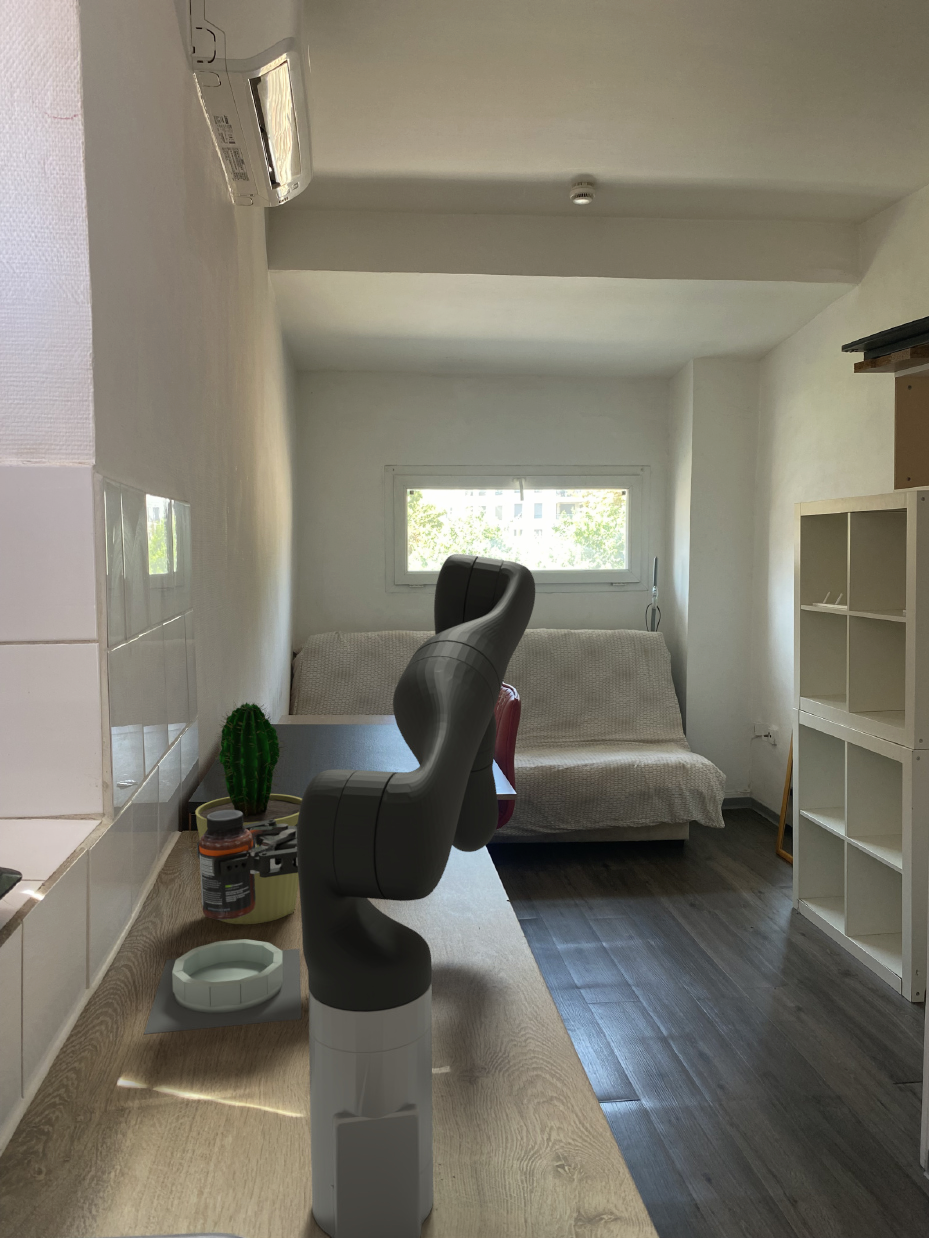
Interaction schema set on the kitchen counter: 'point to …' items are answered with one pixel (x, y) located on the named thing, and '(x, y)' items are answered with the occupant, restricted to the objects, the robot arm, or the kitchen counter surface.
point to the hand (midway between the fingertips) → (205, 859)
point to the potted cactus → (255, 800)
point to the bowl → (228, 976)
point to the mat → (178, 1018)
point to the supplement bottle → (231, 891)
